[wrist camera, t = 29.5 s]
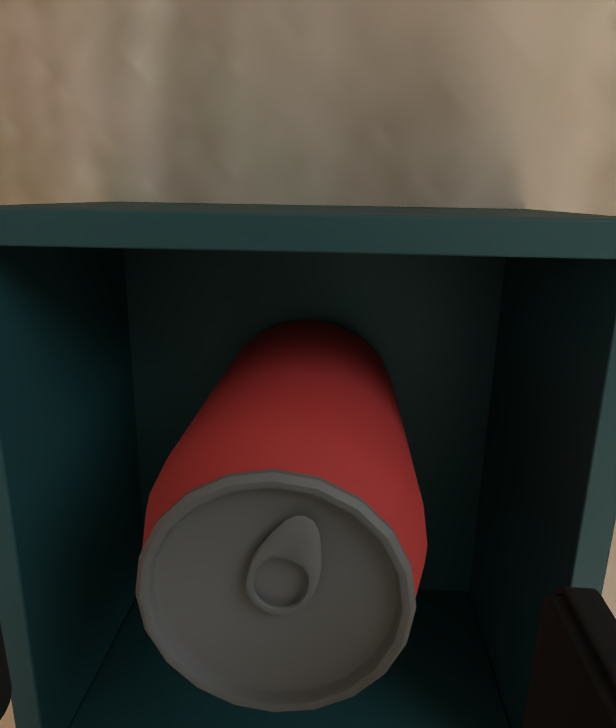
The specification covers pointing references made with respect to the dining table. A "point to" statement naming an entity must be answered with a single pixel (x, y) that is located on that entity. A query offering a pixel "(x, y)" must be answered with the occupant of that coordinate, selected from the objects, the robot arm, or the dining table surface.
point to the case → (206, 367)
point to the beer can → (287, 527)
